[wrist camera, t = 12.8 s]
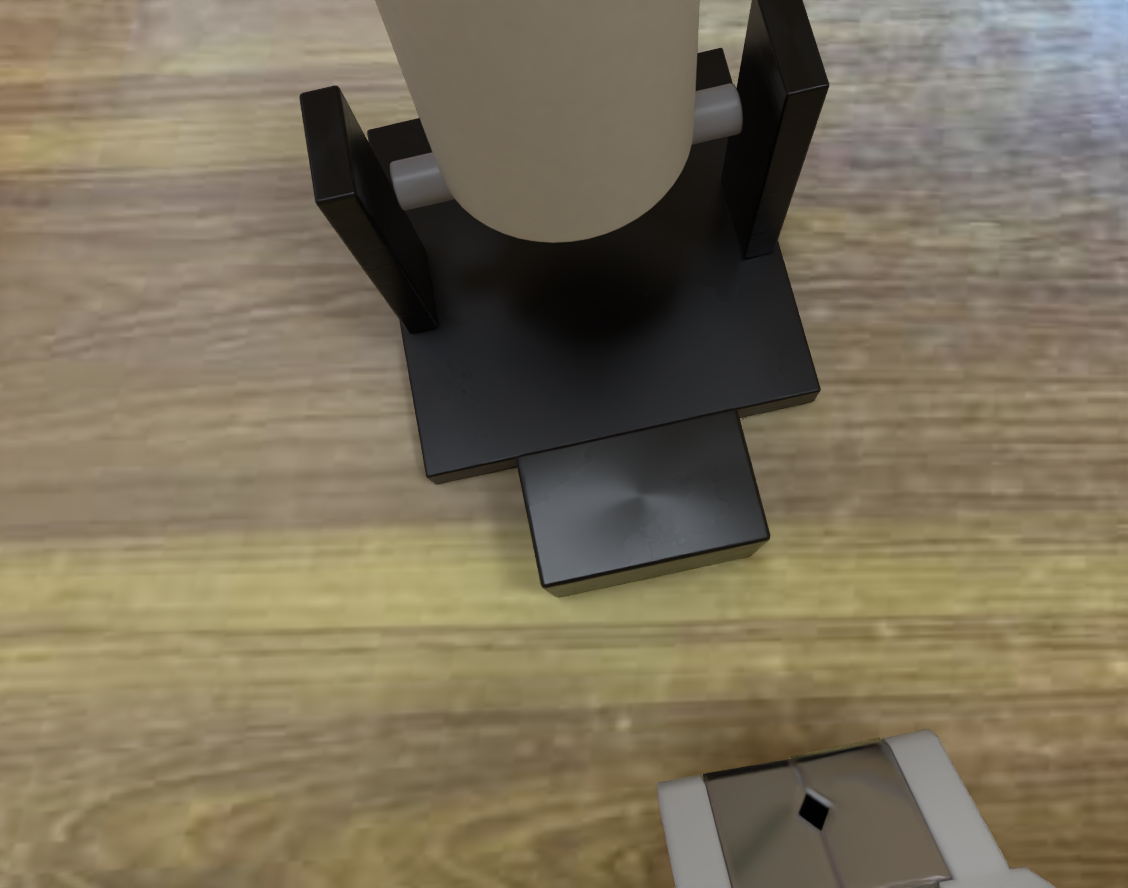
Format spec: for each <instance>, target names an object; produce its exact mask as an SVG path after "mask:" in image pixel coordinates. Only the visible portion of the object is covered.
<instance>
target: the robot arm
mask: <svg viewBox="0 0 1128 888" xmlns="http://www.w3.org/2000/svg"><path fill="white" fill-rule="evenodd" d="M657 791H658V801H659V806H660V811H661V816H662V821H663V826H664V831H665V836H666V842H667V847H668V852H669V857H670V862H671V867H672V872H673V877H674V882H675V887H676V888H1057V887H1055V886H1054V885H1052V884H1051V883H1049V882H1048V881H1046V880H1045V879H1044V878H1042V877H1041V876H1039V875H1038V874H1036V873H1035V872H1033V871H1032V870H1030V869H1029V868H1028V867H1026V866H1023V867H1017V868H1010V866H1009V864H1008V863H1007V861H1006V859H1005V857H1004V855H1003V854H1002V852H1001V850H1000V848H999V846H998V845H997V843H996V841H995V839H994V837H993V835H992V834H991V832H990V830H989V828H988V826H987V825H986V823H985V821H984V819H983V817H982V816H981V814H980V812H979V810H978V808H977V806H976V805H975V803H974V801H973V799H972V797H971V796H970V794H969V792H968V790H967V788H966V787H965V785H964V783H963V781H962V779H961V777H960V776H959V774H958V772H957V770H956V768H955V767H954V765H953V763H952V761H951V759H950V758H949V756H948V754H947V752H946V750H945V748H944V747H943V745H942V743H941V741H940V739H939V738H938V736H937V735H935V734H934V733H933V732H932V731H931V730H930V729H923V730H919V731H914V732H910V733H905V734H901V735H896V736H891V737H887V738H883V739H880V738H874V739H870V740H865V741H861V742H856V743H851V744H847V745H842V746H837V747H833V748H828V749H824V750H819V751H814V752H810V753H805V754H801V755H796V756H791V759H785V760H779V761H774V762H768V763H762V764H757V765H751V766H745V767H740V768H734V769H728V770H723V771H717V772H711V773H706V774H703V777H702V774H699V775H694V776H689V777H684V778H679V779H673V780H668V781H663V782H658V783H657Z"/></svg>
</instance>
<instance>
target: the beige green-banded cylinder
mask: <svg viewBox="0 0 1128 888" xmlns="http://www.w3.org/2000/svg"><path fill="white" fill-rule="evenodd" d="M375 1H376V4H377V6H378V9H379V12H380V14H381V17H382V20H383V22H384V25H385V28H386V30H387V33H388V36H389V38H390V41H391V43H392V46H393V49H394V51H395V54H396V57H397V59H398V62H399V65H400V67H401V70H402V73H403V75H404V78H405V81H406V83H407V86H408V88H409V91H410V94H411V96H412V99H413V102H414V104H415V107H416V110H417V112H418V115H419V118H420V120H421V123H422V126H423V128H424V131H425V134H426V136H427V139H428V141H429V144H430V147H431V149H432V153H428V154H423V155H419V156H415V157H410V158H406V159H402V160H398V161H393V162H392V163H391V164H390V175H391V180H392V184H393V188H394V192H395V195H396V198H397V201H398V203H399V205H400V207H401V208H402V210H410V209H415V208H419V207H423V206H428V205H432V204H436V203H441V202H445V201H449V200H454V199H456V201H457V202H458V203H459V204H460V205H461V206H462V207H463V208H464V209H465V210H466V211H467V212H468V213H470V214H471V215H472V216H473V217H474V218H476V219H477V220H479V221H480V222H482V223H484V224H485V225H487V226H488V227H490V228H493V229H495V230H497V231H499V232H501V233H504V234H507V235H510V236H513V237H516V238H519V239H525V240H530V241H536V242H552V243H556V242H572V241H578V240H584V239H589V238H593V237H596V236H600V235H603V234H606V233H609V232H611V231H614V230H616V229H619V228H621V227H623V226H625V225H627V224H628V223H630V222H632V221H634V220H635V219H637V218H639V217H640V216H641V215H643V214H644V213H645V212H647V211H648V210H650V209H651V208H652V207H653V206H654V205H655V204H656V203H657V202H658V201H659V200H661V199H662V198H663V197H664V195H665V194H666V193H667V192H668V191H669V189H670V188H671V187H672V186H673V184H674V183H675V181H676V180H677V178H678V177H679V175H680V173H681V172H682V170H683V168H684V165H685V163H686V161H687V158H688V156H689V152H690V148H691V145H693V144H697V143H702V142H706V141H710V140H715V139H719V138H723V137H728V136H732V135H737V134H739V133H740V132H741V130H742V124H743V115H742V106H741V101H740V97H739V93H738V91H737V89H736V87H735V85H734V84H731V83H730V84H726V85H721V86H717V87H713V88H708V89H704V90H700V91H695V89H696V68H697V46H698V25H699V3H700V0H375Z"/></svg>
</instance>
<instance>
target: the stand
mask: <svg viewBox="0 0 1128 888" xmlns="http://www.w3.org/2000/svg"><path fill="white" fill-rule="evenodd" d="M730 83H731V84H733V83H732V79H731V76H730V72H729V69H728V65H727V62H726V58H725V55H724V51H723V49H722V48H718V49H714V50H709V51H705V52H701V53H697V68H696V89H695V91H700V90H704V89H708V88H713V87H717V86H721V85H726V84H730ZM828 88H829V82H828V79H827V76H826V73H825V69H824V66H823V63H822V60H821V57H820V54H819V51H818V47H817V44H816V41H815V38H814V35H813V32H812V28H811V25H810V22H809V19H808V16H807V13H806V10H805V6H804V3H803V0H752V3H751V9H750V14H749V20H748V26H747V32H746V38H745V43H744V49H743V55H742V61H741V66H740V72H739V78H738V84H737V91H738V93H739V97H740V101H741V106H742V115H743V124H742V130H741V132H740V133H739V134H737V135H732V136H728V137H723V138H719V139H715V140H710V141H706V142H702V143H697V144H693V145H691V148H690V152H689V156H688V158H687V161H686V163H685V165H684V168H683V170H682V172H681V173H680V175H679V177H678V178H677V180H676V181H675V183H674V184H673V186H672V187H671V188H670V189H669V191H668V192H667V193H666V194H665V195H664V197H663V198H662V199H661V200H659V201H658V202H657V203H656V204H655V205H654V206H653V207H652V208H651V209H650V210H648V211H647V212H645V213H644V214H643V215H641V216H640V217H639V218H637V219H635V220H634V221H632V222H630V223H628V224H627V225H625V226H623V227H621V228H619V229H616V230H614V231H611V232H609V233H606V234H603V235H600V236H596V237H593V238H589V239H584V240H578V241H572V242H556V243H552V242H536V241H530V240H525V239H519V238H516V237H513V236H510V235H507V234H504V233H501V232H499V231H497V230H495V229H493V228H490V227H488V226H487V225H485V224H484V223H482V222H480V221H479V220H477V219H476V218H474V217H473V216H472V215H471V214H470V213H468V212H467V211H466V210H465V209H464V208H463V207H462V206H461V205H460V204H459V203H458V202H457V201H456V199H454V200H449V201H445V202H441V203H436V204H432V205H428V206H423V207H419V208H415V209H410V210H402V208H401V207H400V205H399V203H398V201H397V198H396V195H395V192H394V188H393V184H392V180H391V175H390V164H391V163H392V162H393V161H398V160H402V159H406V158H410V157H415V156H419V155H423V154H428V153H432V149H431V147H430V144H429V141H428V139H427V136H426V134H425V131H424V128H423V126H422V123H421V120H420V118H418V119H413V120H409V121H405V122H400V123H396V124H392V125H388V126H383V127H379V128H375V129H370V130H368V131H367V135H368V140H367V139H366V137H365V135H364V133H363V131H362V129H361V127H360V125H359V124H358V122H357V120H356V118H355V116H354V114H353V112H352V110H351V108H350V107H349V105H348V103H347V101H346V99H345V97H344V95H343V93H342V91H341V90H340V88H339V87H338V86H330V87H326V88H322V89H318V90H313V91H309V92H305V93H302V94H300V105H301V111H302V118H303V124H304V131H305V137H306V144H307V151H308V157H309V164H310V170H311V177H312V183H313V190H314V196H315V203H316V204H317V206H318V207H319V208H320V210H321V211H322V213H323V214H324V215H325V217H326V218H327V220H328V221H329V222H330V224H331V225H332V226H333V228H334V229H335V231H336V232H337V233H338V235H339V236H340V238H341V239H342V240H343V242H344V243H345V245H346V246H347V247H348V249H349V250H350V251H351V253H352V254H353V256H354V257H355V258H356V260H357V261H358V263H359V264H360V265H361V267H362V268H363V270H364V271H365V272H366V274H367V275H368V277H369V278H370V279H371V281H372V282H373V283H374V285H375V286H376V288H377V289H378V290H379V292H380V293H381V295H382V296H383V297H384V299H385V300H386V302H387V303H388V304H389V306H390V307H391V308H392V310H393V311H394V313H395V314H396V315H397V317H398V318H399V321H400V327H401V332H402V338H403V344H404V350H405V356H406V361H407V367H408V373H409V379H410V385H411V391H412V396H413V402H414V408H415V414H416V420H417V425H418V431H419V437H420V443H421V449H422V454H423V460H424V466H425V472H426V476H427V478H428V479H430V480H431V481H432V482H433V483H435V484H440V483H444V482H449V481H453V480H458V479H462V478H467V477H472V476H476V475H481V474H485V473H490V472H494V471H499V470H503V469H508V468H513V467H518V472H519V477H520V482H521V487H522V492H523V497H524V502H525V507H526V512H527V517H528V523H529V528H530V533H531V538H532V543H533V548H534V553H535V558H536V563H537V568H538V573H539V578H540V583H541V586H542V587H543V588H544V589H545V590H547V591H548V592H550V593H551V594H553V595H554V596H556V597H564V596H569V595H573V594H578V593H583V592H587V591H592V590H597V589H601V588H606V587H611V586H615V585H620V584H625V583H629V582H634V581H639V580H643V579H648V578H653V577H657V576H662V575H667V574H671V573H676V572H680V571H685V570H690V569H694V568H699V567H704V566H708V565H713V564H718V563H722V562H727V561H732V560H736V559H741V558H746V557H750V556H751V555H752V554H753V553H755V552H756V551H757V550H758V549H759V548H760V547H761V546H763V545H764V544H765V543H766V542H767V541H768V540H769V539H770V532H769V528H768V524H767V521H766V517H765V513H764V509H763V505H762V502H761V498H760V494H759V490H758V486H757V482H756V479H755V475H754V471H753V467H752V463H751V460H750V456H749V452H748V448H747V444H746V441H745V437H744V433H743V429H742V425H741V422H740V417H745V416H749V415H754V414H758V413H763V412H768V411H772V410H777V409H781V408H786V407H790V406H795V405H799V404H804V403H809V402H812V401H814V400H815V398H816V397H817V395H818V394H819V392H820V390H821V388H820V385H819V382H818V378H817V375H816V371H815V368H814V364H813V361H812V357H811V354H810V350H809V347H808V343H807V340H806V336H805V333H804V329H803V326H802V322H801V319H800V315H799V312H798V309H797V305H796V302H795V298H794V295H793V291H792V288H791V284H790V281H789V277H788V274H787V270H786V267H785V263H784V260H783V256H782V253H781V249H780V246H779V242H778V237H779V235H780V232H781V229H782V226H783V223H784V220H785V217H786V214H787V211H788V208H789V205H790V202H791V199H792V196H793V193H794V190H795V187H796V184H797V181H798V178H799V175H800V172H801V169H802V166H803V163H804V160H805V157H806V154H807V151H808V148H809V145H810V142H811V139H812V136H813V133H814V130H815V127H816V124H817V121H818V118H819V115H820V112H821V109H822V106H823V103H824V100H825V97H826V94H827V91H828ZM368 141H369V142H368Z"/></svg>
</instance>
